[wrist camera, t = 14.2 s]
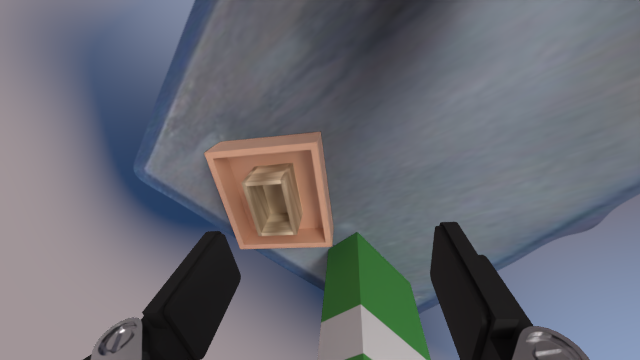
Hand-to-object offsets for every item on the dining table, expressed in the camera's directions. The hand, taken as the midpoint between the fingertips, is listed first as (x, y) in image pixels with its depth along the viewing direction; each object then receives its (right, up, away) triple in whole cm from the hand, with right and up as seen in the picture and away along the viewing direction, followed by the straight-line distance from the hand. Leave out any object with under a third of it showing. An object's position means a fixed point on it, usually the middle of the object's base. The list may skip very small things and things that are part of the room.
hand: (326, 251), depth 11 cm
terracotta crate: (-7, +2, +32) cm, 33 cm away
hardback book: (+10, -15, +39) cm, 43 cm away
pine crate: (-7, +1, +31) cm, 32 cm away
